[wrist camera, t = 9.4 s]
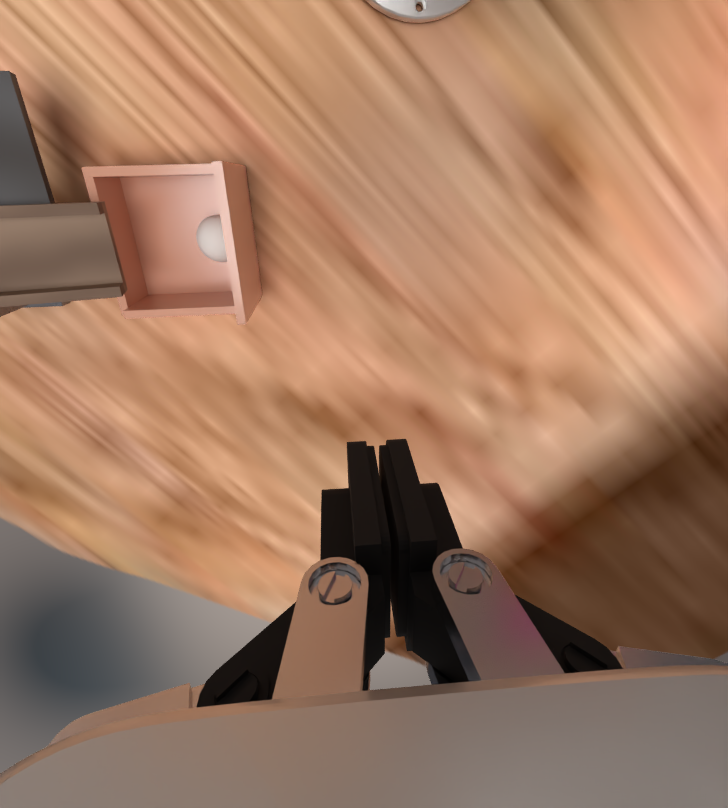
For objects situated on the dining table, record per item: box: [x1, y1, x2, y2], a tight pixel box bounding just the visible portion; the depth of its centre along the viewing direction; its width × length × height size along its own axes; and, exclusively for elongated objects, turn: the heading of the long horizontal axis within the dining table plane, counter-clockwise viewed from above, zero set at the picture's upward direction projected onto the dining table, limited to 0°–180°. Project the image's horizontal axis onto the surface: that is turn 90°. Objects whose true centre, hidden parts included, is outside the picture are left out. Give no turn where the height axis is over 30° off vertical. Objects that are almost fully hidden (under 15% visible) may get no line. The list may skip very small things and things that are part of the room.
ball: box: [196, 215, 227, 262], centre depth 35 cm, size 4×4×4 cm
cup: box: [81, 161, 262, 325], centre depth 33 cm, size 10×10×9 cm
